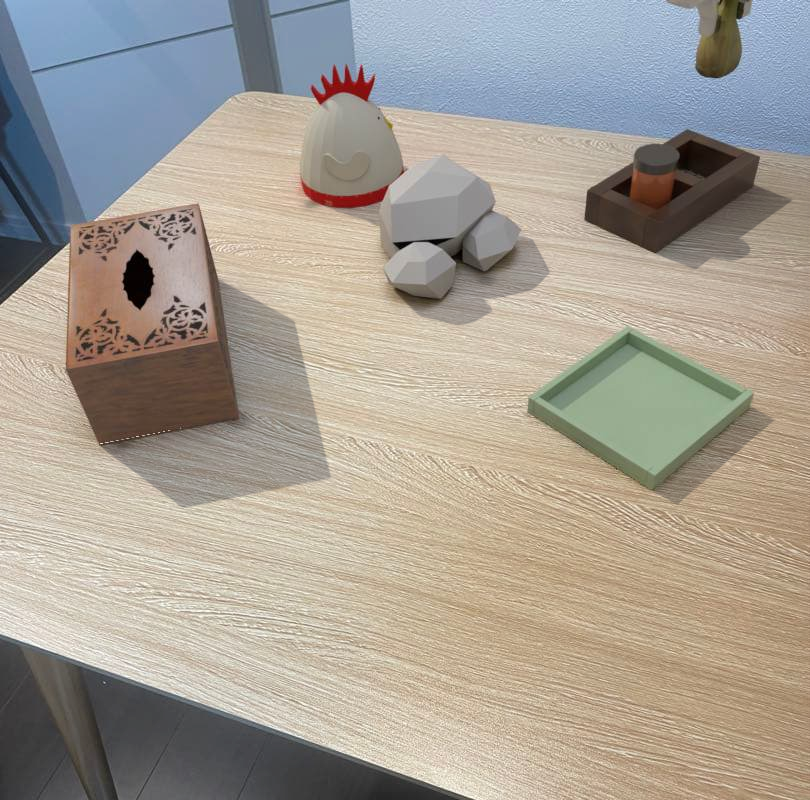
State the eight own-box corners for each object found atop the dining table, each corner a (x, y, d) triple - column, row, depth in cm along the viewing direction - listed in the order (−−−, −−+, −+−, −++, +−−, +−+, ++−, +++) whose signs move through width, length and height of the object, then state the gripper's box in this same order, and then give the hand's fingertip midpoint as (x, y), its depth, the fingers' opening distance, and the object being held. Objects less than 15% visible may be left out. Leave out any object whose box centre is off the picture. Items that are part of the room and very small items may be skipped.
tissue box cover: (239, 418, 95) (217, 341, 87) (99, 445, 94) (65, 369, 86) (218, 278, 111) (198, 203, 104) (99, 300, 110) (70, 225, 102)
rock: (543, 243, 112) (547, 168, 104) (434, 324, 103) (430, 248, 96) (432, 196, 120) (429, 123, 113) (322, 266, 111) (311, 193, 104)
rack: (753, 186, 117) (760, 156, 114) (655, 253, 109) (660, 223, 106) (682, 158, 122) (687, 128, 119) (583, 219, 114) (586, 189, 111)
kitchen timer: (402, 205, 119) (394, 88, 108) (298, 210, 120) (278, 95, 108) (404, 151, 128) (396, 38, 116) (306, 156, 129) (289, 44, 117)
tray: (749, 407, 91) (754, 392, 90) (651, 490, 85) (655, 475, 83) (625, 340, 99) (627, 325, 97) (527, 411, 93) (528, 396, 91)
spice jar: (677, 216, 114) (688, 153, 107) (650, 234, 111) (661, 170, 105) (643, 201, 116) (652, 138, 110) (617, 218, 114) (625, 155, 108)
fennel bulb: (701, 59, 107) (721, -57, 98) (744, 65, 105) (768, -53, 96) (686, 80, 104) (705, -38, 95) (729, 87, 102) (753, -33, 93)
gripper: (714, -90, 84) (689, 65, 95) (837, -147, 92) (801, 2, 103) (658, -102, 88) (640, 49, 98) (782, -156, 96) (752, -11, 106)
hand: (723, 24), depth 101 cm, fingers closed on fennel bulb, 4 cm apart
